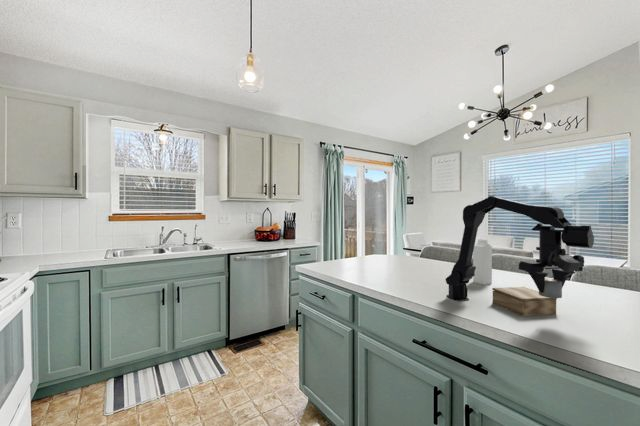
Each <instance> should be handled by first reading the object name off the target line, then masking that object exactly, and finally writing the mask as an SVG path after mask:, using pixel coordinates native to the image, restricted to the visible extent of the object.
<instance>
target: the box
mask: <svg viewBox="0 0 640 426" xmlns="http://www.w3.org/2000/svg"><path fill="white" fill-rule="evenodd" d="M492 304H494V305H496V306H497V307H500V308H503V309H505V310H507V311H510V312H512V313H514V314H516V315H519V316H521V317H523V316H539V315H540V316H541V315H555V314H557V300H537V301H520V300H518V299H515V298H513V297H510V296H507V295H505V294H502V293H499V292H497V291H494V290H492Z"/></svg>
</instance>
